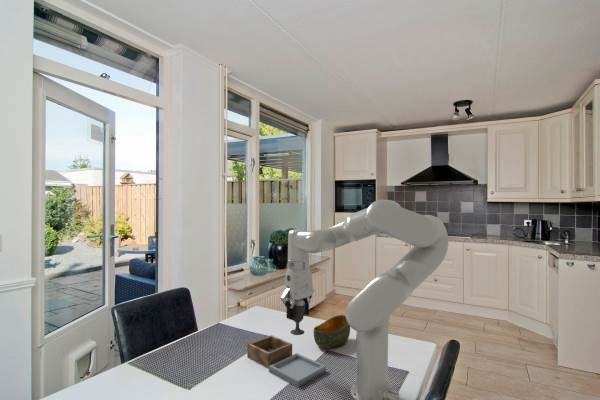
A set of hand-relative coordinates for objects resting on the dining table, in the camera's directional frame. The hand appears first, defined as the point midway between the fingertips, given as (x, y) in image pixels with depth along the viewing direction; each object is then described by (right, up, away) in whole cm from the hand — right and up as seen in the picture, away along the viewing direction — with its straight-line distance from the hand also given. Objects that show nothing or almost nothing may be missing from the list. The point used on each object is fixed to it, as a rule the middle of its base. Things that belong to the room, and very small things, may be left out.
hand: (297, 316), depth 114 cm
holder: (-11, -19, +10) cm, 24 cm away
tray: (0, -19, 0) cm, 19 cm away
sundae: (0, -6, 0) cm, 6 cm away
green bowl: (+15, -20, +23) cm, 34 cm away
